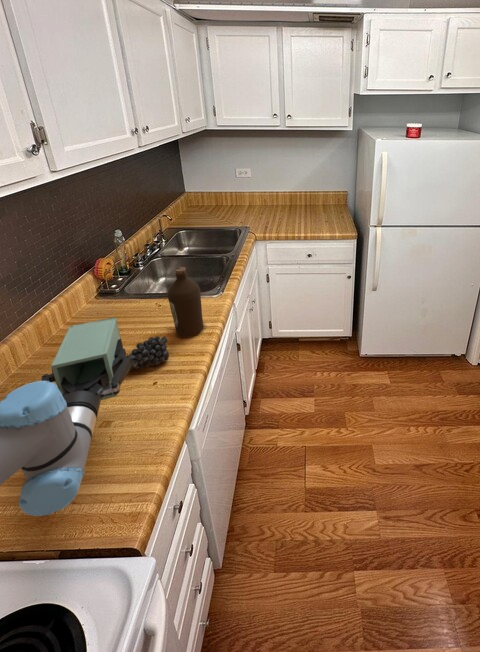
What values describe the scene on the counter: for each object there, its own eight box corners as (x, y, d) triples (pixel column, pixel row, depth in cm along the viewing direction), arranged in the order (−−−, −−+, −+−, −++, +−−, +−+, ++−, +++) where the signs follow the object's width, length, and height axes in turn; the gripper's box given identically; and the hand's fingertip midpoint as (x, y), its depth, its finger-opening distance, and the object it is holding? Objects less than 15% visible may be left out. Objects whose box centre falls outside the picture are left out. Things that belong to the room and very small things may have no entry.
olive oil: (202, 317, 128) (194, 259, 119) (207, 333, 119) (199, 272, 110) (173, 325, 123) (162, 265, 114) (175, 342, 115) (164, 279, 105)
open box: (117, 396, 76) (106, 353, 72) (64, 410, 72) (50, 366, 69) (124, 355, 89) (116, 317, 85) (80, 365, 86) (69, 326, 82)
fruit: (113, 354, 96) (168, 336, 103) (115, 345, 104) (166, 329, 111) (120, 381, 97) (174, 362, 104) (121, 370, 105) (172, 353, 112)
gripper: (4, 456, 60) (44, 373, 80) (142, 415, 69) (148, 349, 88) (-9, 425, 58) (36, 348, 77) (136, 387, 66) (143, 325, 86)
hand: (96, 349), depth 83 cm, fingers closed on open box, 10 cm apart
